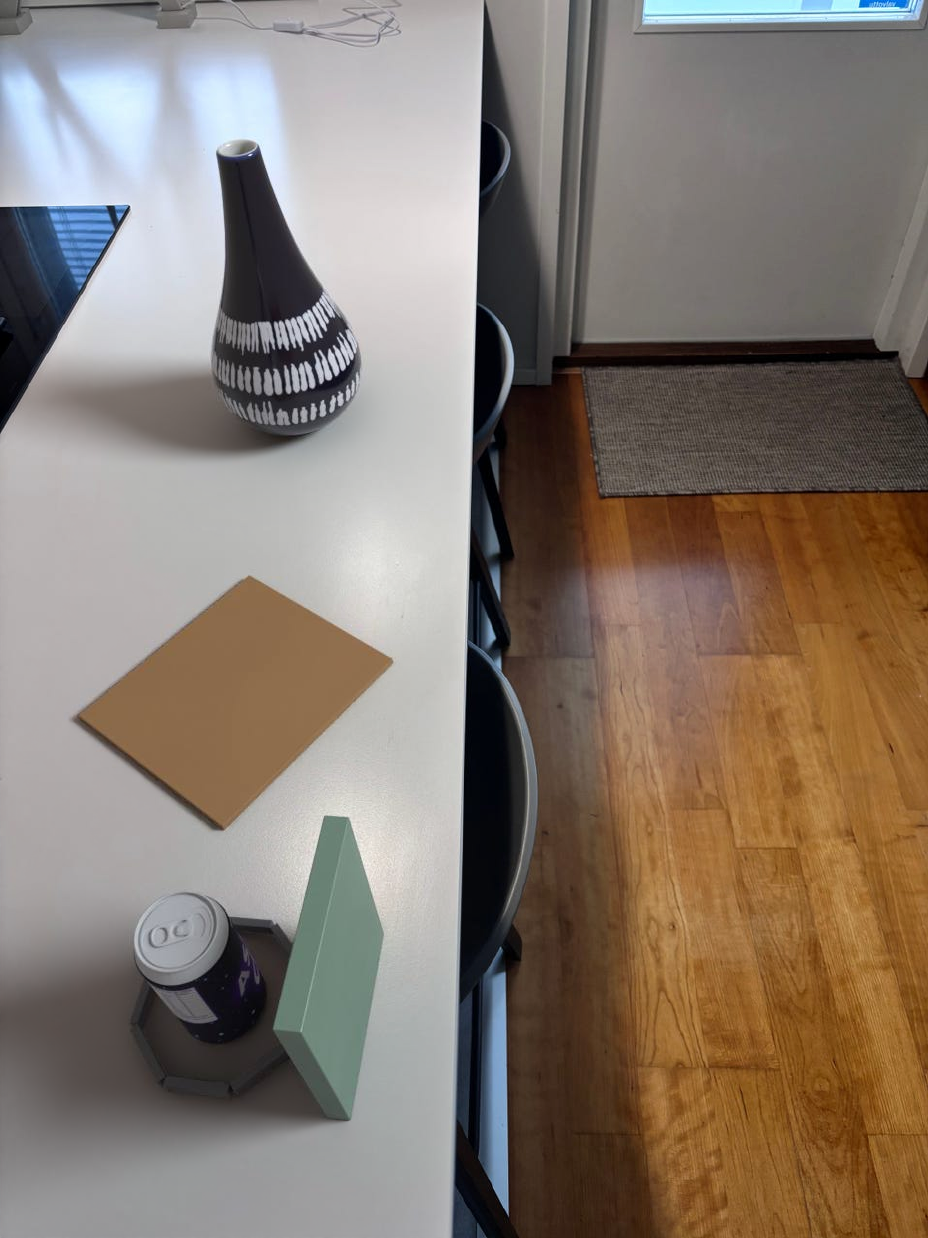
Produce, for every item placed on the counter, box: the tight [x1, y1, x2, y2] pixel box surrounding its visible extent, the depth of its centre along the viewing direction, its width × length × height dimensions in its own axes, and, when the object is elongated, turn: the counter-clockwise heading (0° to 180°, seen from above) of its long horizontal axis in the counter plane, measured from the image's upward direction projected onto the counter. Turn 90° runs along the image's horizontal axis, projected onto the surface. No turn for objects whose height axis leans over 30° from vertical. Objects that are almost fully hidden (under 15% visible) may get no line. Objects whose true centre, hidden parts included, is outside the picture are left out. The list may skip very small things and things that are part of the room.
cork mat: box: [78, 574, 394, 831], centre depth 81 cm, size 20×18×1 cm
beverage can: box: [133, 890, 268, 1045], centre depth 59 cm, size 6×6×12 cm
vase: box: [210, 139, 363, 437], centre depth 96 cm, size 16×16×30 cm
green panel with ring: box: [128, 815, 385, 1121], centre depth 57 cm, size 15×12×16 cm
